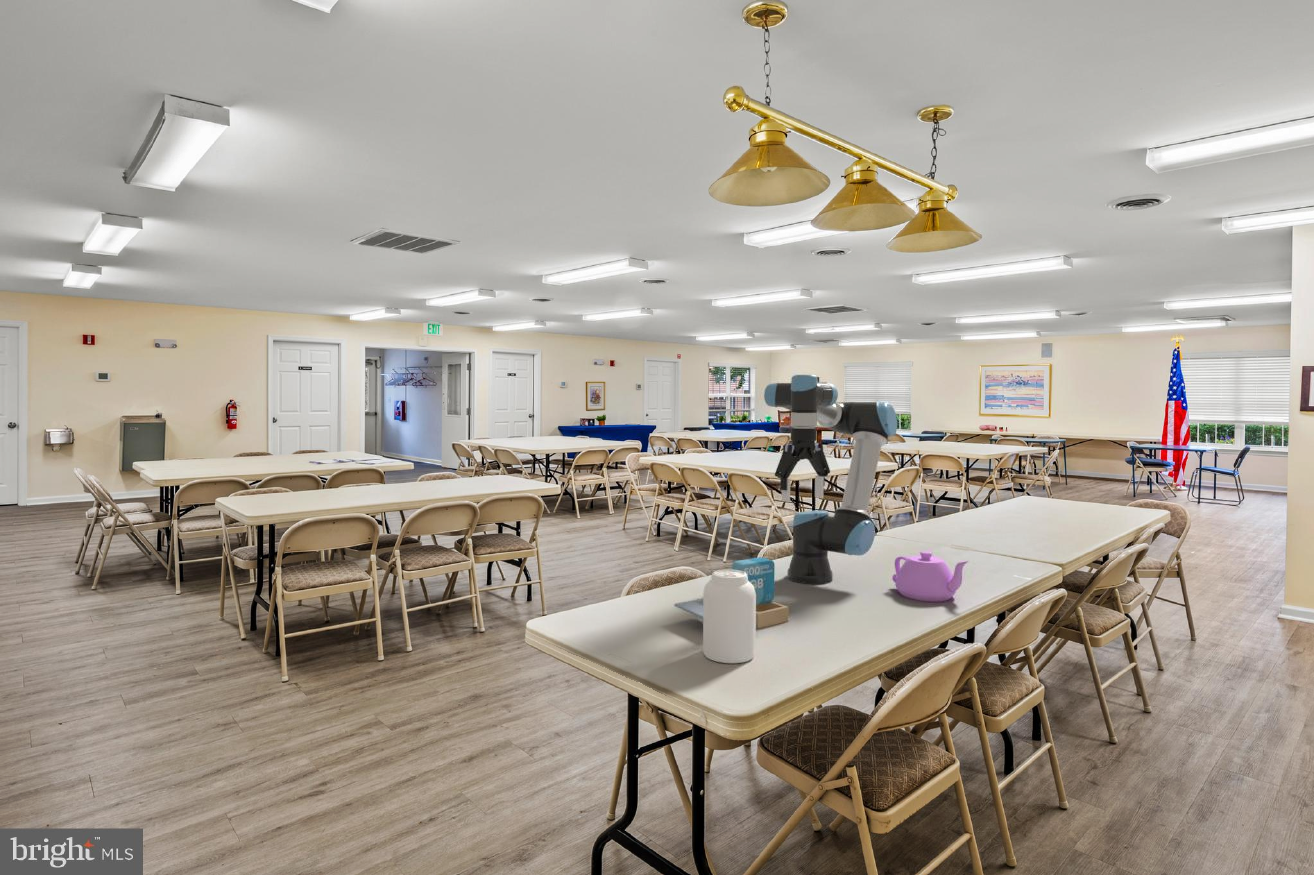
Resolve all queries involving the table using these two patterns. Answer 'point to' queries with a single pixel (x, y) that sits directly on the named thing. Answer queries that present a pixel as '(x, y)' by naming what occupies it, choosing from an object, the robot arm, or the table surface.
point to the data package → (759, 577)
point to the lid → (692, 607)
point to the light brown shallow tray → (771, 614)
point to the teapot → (927, 578)
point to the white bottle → (729, 617)
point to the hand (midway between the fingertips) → (802, 499)
